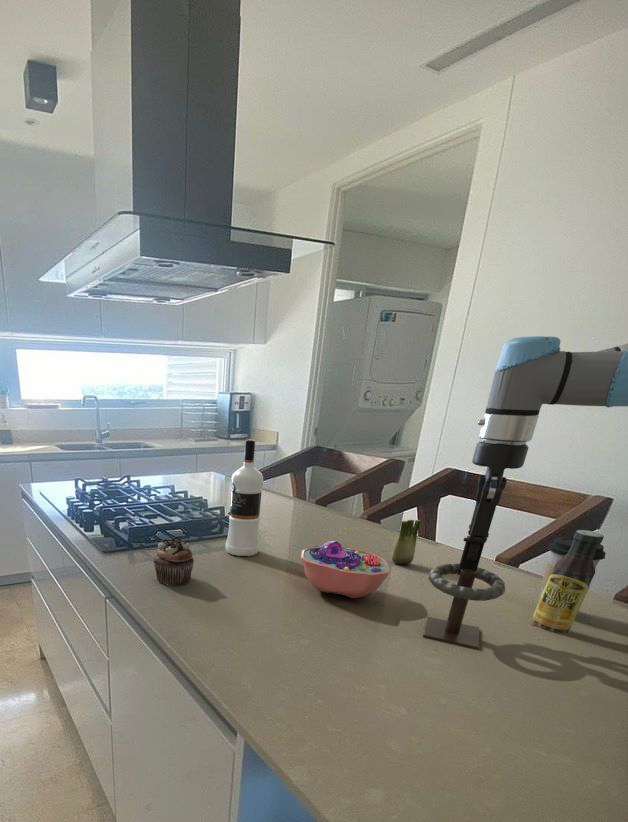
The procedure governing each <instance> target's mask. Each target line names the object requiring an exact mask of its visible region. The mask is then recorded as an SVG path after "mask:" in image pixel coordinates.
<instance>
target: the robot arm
mask: <svg viewBox="0 0 628 822" xmlns="http://www.w3.org/2000/svg"><path fill="white" fill-rule="evenodd" d="M560 345H561V338H559V337H558V336H543V335H542V336H519V337H513V338H511V339H508V341H506V342H504V344H503V346H502V348H501V352H500V355H499V357H498V358H499V359H498V361H497V365H496V367H495V370H494V374H493V379H492V381H491V382H492V383H491V387H490V392H489V394H488V397H487V403H486V406H485V411H484V416H483V417H484V419H483V418H481V419H479V420H478V422H477V425H478V426H482V427H480V430H479V435H478V438H479V439H480V440H481V441H478V442H477V443H475V449H474V452H473V456H472V460H471V462H472V464H473V465H475V466H479V467H486V470H485V473H484V474H479V477H478V481H477V491H476V493H475V506H474V510H473V514H472V517H471V521H470V524H469V525H468V528H469V529H468V532H467V534H468V535H466V537H465V536H464V537H463V542H465V543H464V547H463V550H462V554H461V558H460V561H459V564H460V568H459V572H458V574H457V576H460V572H461V569H471V570H474V571H477V567H479V564H480V560H481V557H482V553H483V550H484V546H485V544H486V542H487V541H488V538H489V537H490V536H489V535H490V533H489V532H490V529H491V526H492V522H493V519H494V515H495V512H496V508H497V506H498V505H499V503H500V501H501V497H502V493H503V491H504V490H505V488H506V485H507V482H508V479H507V477H506V476H504V473H505V470H507V469H510V470H515V469H516V470H517V469H520V468H522V467H523V466H524V464H525V461H526V458H527V455H528V451H529V449H530V448H529V446H528V445H529V444H527V442H528V443H529V442H531V441H532V439H533V436H534V433H535V430H536V426H537V423H538V420H539V415H540V411H541V408H542V406H543V405H553V406H554V405H559V406H561V405H562V406H577V407H578V406H581V407H584V406H585V407H606V408H608V409H609V408H614V407H615V408H616V407H628V342H627V343H623V344H620V345H616V346H613V347H609V348H605V349H602V350H601V349H600V350H597V351H564V350H561V347H560Z"/></svg>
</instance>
